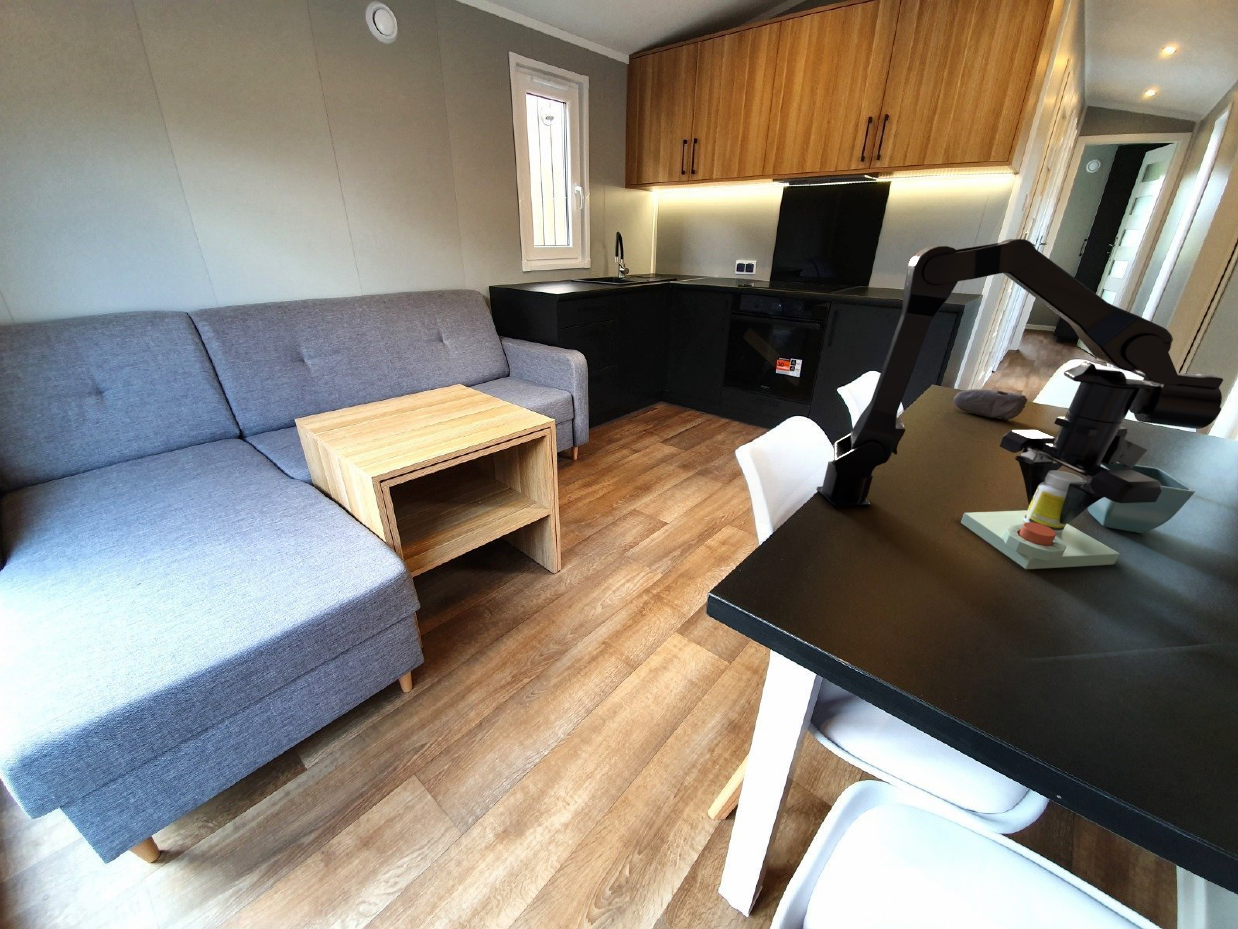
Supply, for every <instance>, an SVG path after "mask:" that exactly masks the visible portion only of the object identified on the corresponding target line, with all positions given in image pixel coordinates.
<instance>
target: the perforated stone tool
mask: <svg viewBox="0 0 1238 929" xmlns="http://www.w3.org/2000/svg"><path fill="white" fill-rule="evenodd" d="M1028 400H1029V399H1028V398H1027V397H1026V395H1024V394H1018V393H1013V392H1008V391H1007V392H1006V391H1002V390H994V389H982V388H980V389H979V388H976V389H975V388H974V389H966V390H961V391H959V392H957V393H956V394H955V396H953V404H954V406H955V407H956V408H957V409H959V410H961V411H963V412H966V413H972V414H974V415H976V416H979V417H986V418H989V419H996V418H1000V420H1003V421H1009V420H1012V419H1015V418H1016V417H1018V416H1019V415H1020V414H1022V412H1023V410H1024V408H1026V405H1027V402H1028Z"/></svg>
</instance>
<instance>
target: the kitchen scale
mask: <svg viewBox="0 0 1238 929" xmlns="http://www.w3.org/2000/svg"><path fill="white" fill-rule="evenodd" d="M1027 510H1028V509H1027ZM1027 510H1004V511H1003V510H1002V511H1001V510H1000V511H976V512H964V513H963V515H962V518H961V520H960V523H961V524H962V525H963V526H965V527H966V528H967V529H969V530H970V531H972V532H973V533H975V534H976V535H977V536H979V537H980V538H981V539H983V540H984V541H985V542H987V543H988V544H990V545H991V546H993V547H994V548H995V549H996V550H998V551H1000V552H1001V553H1002V554H1004V555H1005V556H1007V557H1008V558H1009V559H1011V560H1012V561H1014V562H1015V563H1016V564H1017V565H1019V566H1020V567H1022V568H1024V569H1025V570H1036V569H1039V570H1040V569H1053V568H1074V567H1091V566H1106V565H1108V566H1109V565H1111V566H1112V565H1115V564H1116V562H1117V560H1118V558H1119V556H1120V555H1121V554H1120V552H1118V551H1116V550H1114V549H1113V548H1111V547H1110V546H1107V545H1106V544H1104V543H1102V542H1100V541H1098V540H1097V539H1095V538H1093V537H1092V536H1090V535H1088V534H1086V533H1084V532H1083V531H1081V530H1079V529H1078V528H1075V527H1074V526H1072V525H1071V524H1070V523H1068V524H1066V526H1065V527H1064V529H1063V531H1062V532H1060V533H1056V536H1055V538H1054V540H1053V542H1052V544H1051V545H1050V546H1042V545H1037V544H1034V543H1031V542H1029V541H1026V540H1025V539H1023V538H1022V537H1020V536H1019V533H1020V531H1021V529H1022V526H1023V524H1024V523H1026V522H1025V521H1024V517H1025V514H1026V512H1027Z"/></svg>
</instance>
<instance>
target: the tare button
mask: <svg viewBox="0 0 1238 929" xmlns="http://www.w3.org/2000/svg"><path fill="white" fill-rule="evenodd" d="M1019 536H1020V537H1022V538H1023V539H1025V540H1026V541H1029V542H1031V543H1034V544H1037V545H1042V546H1050V545H1051V544H1052V542H1053V540H1054V538H1055V536H1056V532H1055V531H1054V530H1052V529H1051V528H1049V527H1047V526H1045V525H1042V524H1038V523H1033V522H1026V523H1024V524H1023V526H1022V529H1021V531H1020V533H1019Z"/></svg>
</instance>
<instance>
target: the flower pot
mask: <svg viewBox="0 0 1238 929" xmlns="http://www.w3.org/2000/svg"><path fill="white" fill-rule="evenodd" d="M1101 467H1104V468H1106V469H1108V470H1134V471H1136V472H1138V473H1141V474H1143V475H1146V476H1148V477H1151V478H1153V479H1155V480H1158V481H1159V482H1160V484H1161V487H1162V492H1161V494H1160V495H1159V497H1158V499H1157V501H1156V502H1146V503H1118V502H1114V501H1111V500H1109V499H1107V498H1105V497H1104V498H1102V499H1100V500H1098V501H1097V502H1095V503H1094V504H1092V505H1091V506H1089V507H1088V508H1087V511H1088V513H1089V514H1090V515H1091V516H1092V517H1093V518H1094V519H1095V520H1096V521H1097V522H1098V523H1099V524H1100V525H1101V526H1102V527H1104V528H1108V529H1115V530H1120V531H1126V532H1131V533H1137V534H1143V533H1146V532H1150V531H1152V530H1155V529H1156V528H1160V526H1161V527H1162V526H1163V525H1164V524H1166V523H1167V522H1168V521H1170V520H1171V519H1172V518H1173V517H1174V516H1176V514H1177V513H1178V512H1179V511H1180V510H1181V509H1182V508H1183V507H1184V505H1185V504H1186V503H1187V502H1188V501H1189V500H1190V498H1192V496H1193V495H1194V494H1195V493H1196V490H1194V489H1193V488H1191V487H1190V486H1188V485H1187V484H1185V483H1183V482H1182V481H1180V480H1178V479H1177V478H1175V477H1174V476H1172V475H1171V474H1168V472H1166V471H1164V470H1163V469H1161V468H1159V467H1152V466H1147V465H1146V466H1145V465H1139V464H1135V465H1134V467H1133V468H1132V469H1129V468H1127V467H1124V466H1123V464H1121V463H1118V462H1117V463H1116V465H1107V464H1101Z"/></svg>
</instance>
